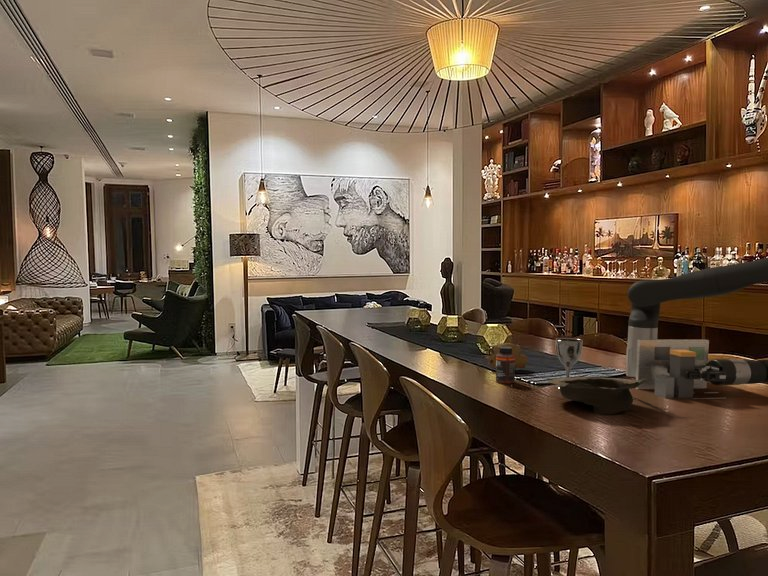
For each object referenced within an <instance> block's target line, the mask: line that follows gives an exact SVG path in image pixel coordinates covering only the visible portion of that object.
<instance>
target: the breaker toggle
mask: <svg viewBox="0 0 768 576" xmlns="http://www.w3.org/2000/svg"><path fill="white" fill-rule="evenodd" d="M695 357H696V352H693V351H689V350H670V373H669V376H670V377H674V397H675V398H677V399H679V398H694V389H695V388H694V379H685V372H686V371H694V368H695Z"/></svg>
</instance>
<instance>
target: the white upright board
mask: <svg viewBox="0 0 768 576" xmlns="http://www.w3.org/2000/svg"><path fill="white" fill-rule="evenodd" d="M709 344H710V340H709V339H657V340H638V342H637V364H636V378H635V381H637V380H642V379H646V381H645V382H644V383H642V384H641V385H639V386H638V387H637V388H635V389H636V390H654V393H653V395H655V396H658V397H661V398H663V399H674V397H675V396H674V377H670V376H669V373H667V367H668V366H670V350H689V351H693V352H696V357H695V365H699V364H703V365H705V366H706V365H707V363H708V362H709V346H710V345H709ZM707 383H708V382H707V381H704V380H699V378H698V379H694V388H693V389H707V385H708V384H707ZM705 394H720V392H718V391H717V392H716V391H715V392H714V391H713V392H712V391H711V392H705ZM705 399H707V400H709V399H711V400H713V399H714V400H716V399H721V400H723V399H725V397H700V398H699V397H698V398H697V397H696V398H695V397H693V398H678V400H705Z"/></svg>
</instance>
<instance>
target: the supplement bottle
mask: <svg viewBox="0 0 768 576" xmlns="http://www.w3.org/2000/svg"><path fill="white" fill-rule="evenodd" d="M499 351H500V352H499V353H498V354H497V355H496V369H495V382H496V383H498V384H504V385H505V384H506V385H510V384H514V383H515V379H516V378H515V373H516V368H515V355H514V354H512V347H499Z"/></svg>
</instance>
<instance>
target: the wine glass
mask: <svg viewBox="0 0 768 576" xmlns="http://www.w3.org/2000/svg"><path fill="white" fill-rule="evenodd" d="M583 342H584V341H583V339H579V338H572V337H556V338H555V353H556V357H557V358H558V360H559V361H560V363H561V364H562V366H563V367H564V370H565V378H570V372H571V369H572V367H573V366H574V365H575V364H576V363H577V362H578V361H579V360H580V358H581V355H582V351H583ZM554 386H555V389H558V390H560V385H557V384H556V385H554Z"/></svg>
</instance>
